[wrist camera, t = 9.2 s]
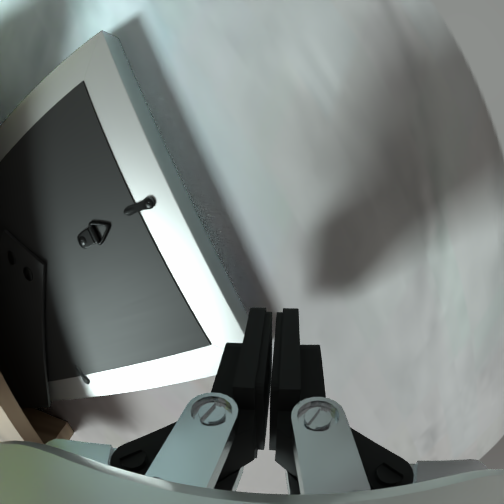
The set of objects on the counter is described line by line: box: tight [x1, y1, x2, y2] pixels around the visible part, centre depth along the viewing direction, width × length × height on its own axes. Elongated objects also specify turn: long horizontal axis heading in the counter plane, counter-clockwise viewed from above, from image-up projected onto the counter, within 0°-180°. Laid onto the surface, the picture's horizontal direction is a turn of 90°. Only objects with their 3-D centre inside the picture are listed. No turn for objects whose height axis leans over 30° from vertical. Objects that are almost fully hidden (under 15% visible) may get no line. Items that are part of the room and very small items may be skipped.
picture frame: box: [0, 30, 248, 408], centre depth 14 cm, size 16×3×21 cm
